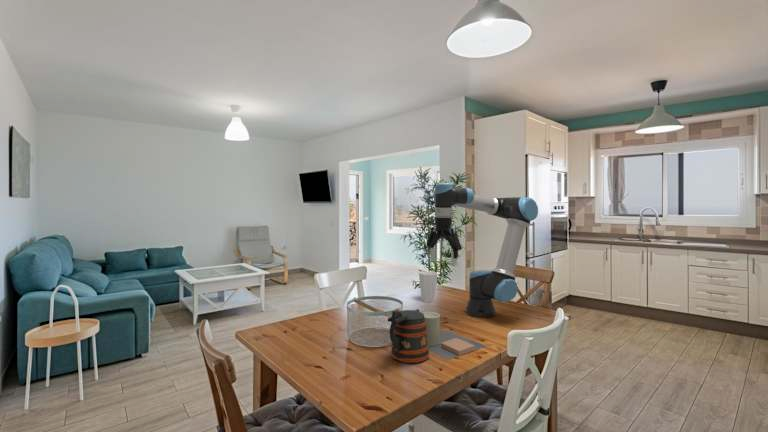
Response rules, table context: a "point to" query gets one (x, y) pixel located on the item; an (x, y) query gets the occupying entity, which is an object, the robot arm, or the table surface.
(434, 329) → the can
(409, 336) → the beer stein
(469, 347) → the tile
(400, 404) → the table surface
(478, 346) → the board
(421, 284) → the cup
